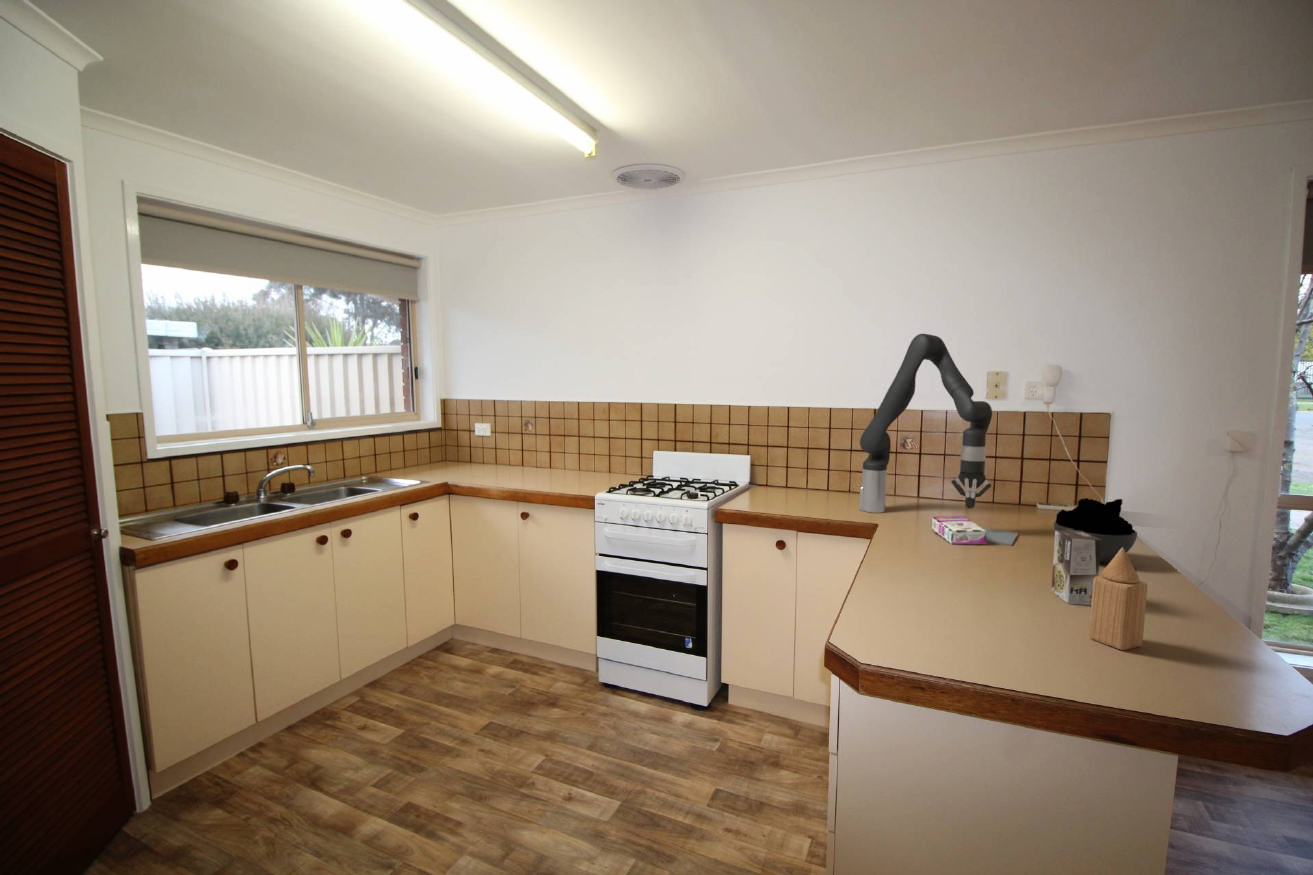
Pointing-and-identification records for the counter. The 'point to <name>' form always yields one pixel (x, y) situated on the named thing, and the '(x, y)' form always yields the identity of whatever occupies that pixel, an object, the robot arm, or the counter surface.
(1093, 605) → the decorative item
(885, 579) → the counter surface
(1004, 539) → the mat
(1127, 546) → the bowl of black rocks
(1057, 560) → the coffee box
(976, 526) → the candy bar box
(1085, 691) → the counter surface
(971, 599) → the counter surface
